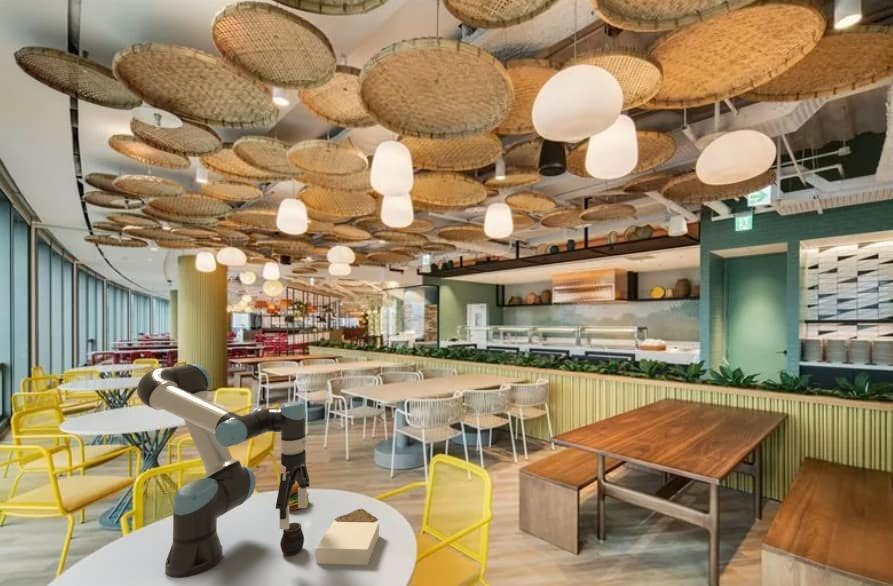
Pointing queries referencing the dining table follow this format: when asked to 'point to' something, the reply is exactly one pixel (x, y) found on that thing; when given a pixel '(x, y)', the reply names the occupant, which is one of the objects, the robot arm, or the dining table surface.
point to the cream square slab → (348, 543)
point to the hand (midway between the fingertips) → (293, 517)
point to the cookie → (357, 517)
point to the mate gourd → (292, 539)
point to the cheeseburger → (295, 498)
